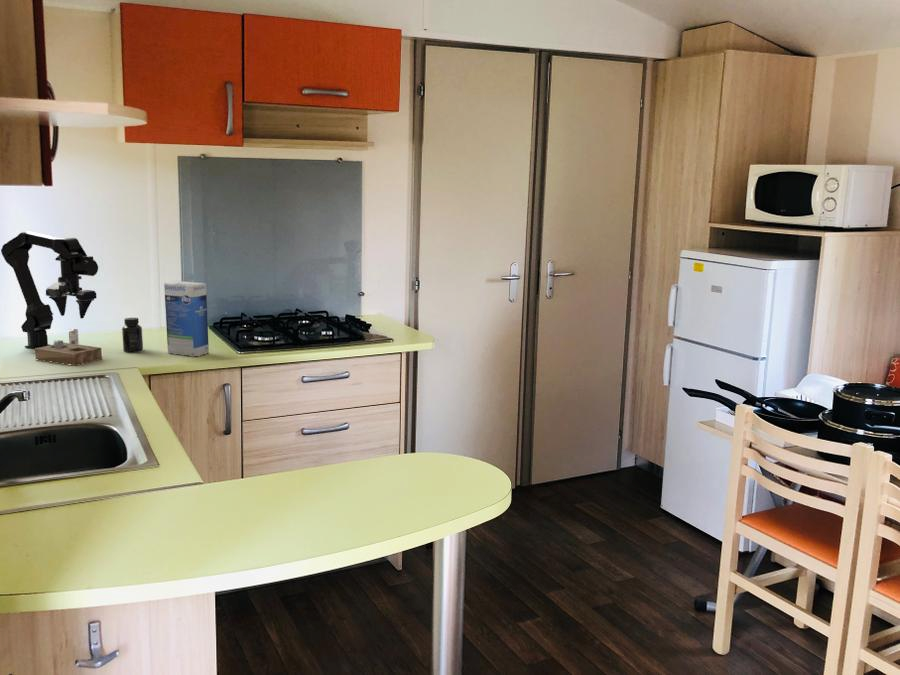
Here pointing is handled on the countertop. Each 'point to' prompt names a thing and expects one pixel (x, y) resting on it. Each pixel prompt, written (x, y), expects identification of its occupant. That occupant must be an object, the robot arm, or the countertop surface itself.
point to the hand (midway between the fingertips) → (72, 317)
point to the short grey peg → (58, 344)
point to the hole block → (69, 353)
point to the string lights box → (186, 318)
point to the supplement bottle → (132, 335)
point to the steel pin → (73, 336)
